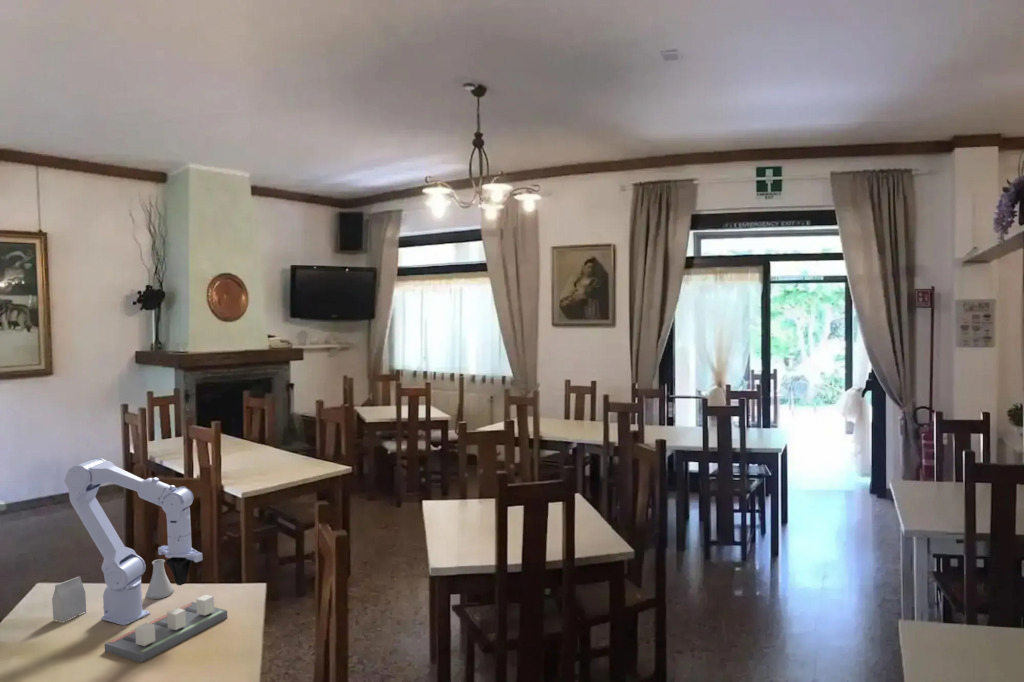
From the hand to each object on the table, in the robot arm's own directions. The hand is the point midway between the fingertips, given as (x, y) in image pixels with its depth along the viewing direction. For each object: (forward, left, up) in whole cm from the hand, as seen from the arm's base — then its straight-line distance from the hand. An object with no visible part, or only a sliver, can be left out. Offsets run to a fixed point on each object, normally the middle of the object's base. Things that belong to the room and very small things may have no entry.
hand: (181, 583), depth 194 cm
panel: (+5, -8, -9) cm, 13 cm away
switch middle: (+7, -8, -7) cm, 13 cm away
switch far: (+7, +1, -7) cm, 10 cm away
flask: (-19, +8, -10) cm, 23 cm away
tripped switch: (+8, -17, -7) cm, 20 cm away
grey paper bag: (-29, -12, -10) cm, 33 cm away
